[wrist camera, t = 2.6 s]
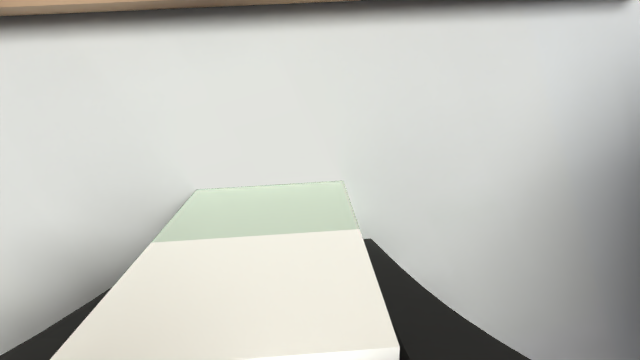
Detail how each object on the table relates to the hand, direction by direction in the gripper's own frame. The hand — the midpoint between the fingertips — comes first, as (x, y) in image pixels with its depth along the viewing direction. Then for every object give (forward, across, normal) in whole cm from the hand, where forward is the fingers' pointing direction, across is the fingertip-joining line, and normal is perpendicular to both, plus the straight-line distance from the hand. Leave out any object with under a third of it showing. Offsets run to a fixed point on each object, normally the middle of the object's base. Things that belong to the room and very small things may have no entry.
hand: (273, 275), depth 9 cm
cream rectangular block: (+1, 0, 0) cm, 1 cm away
